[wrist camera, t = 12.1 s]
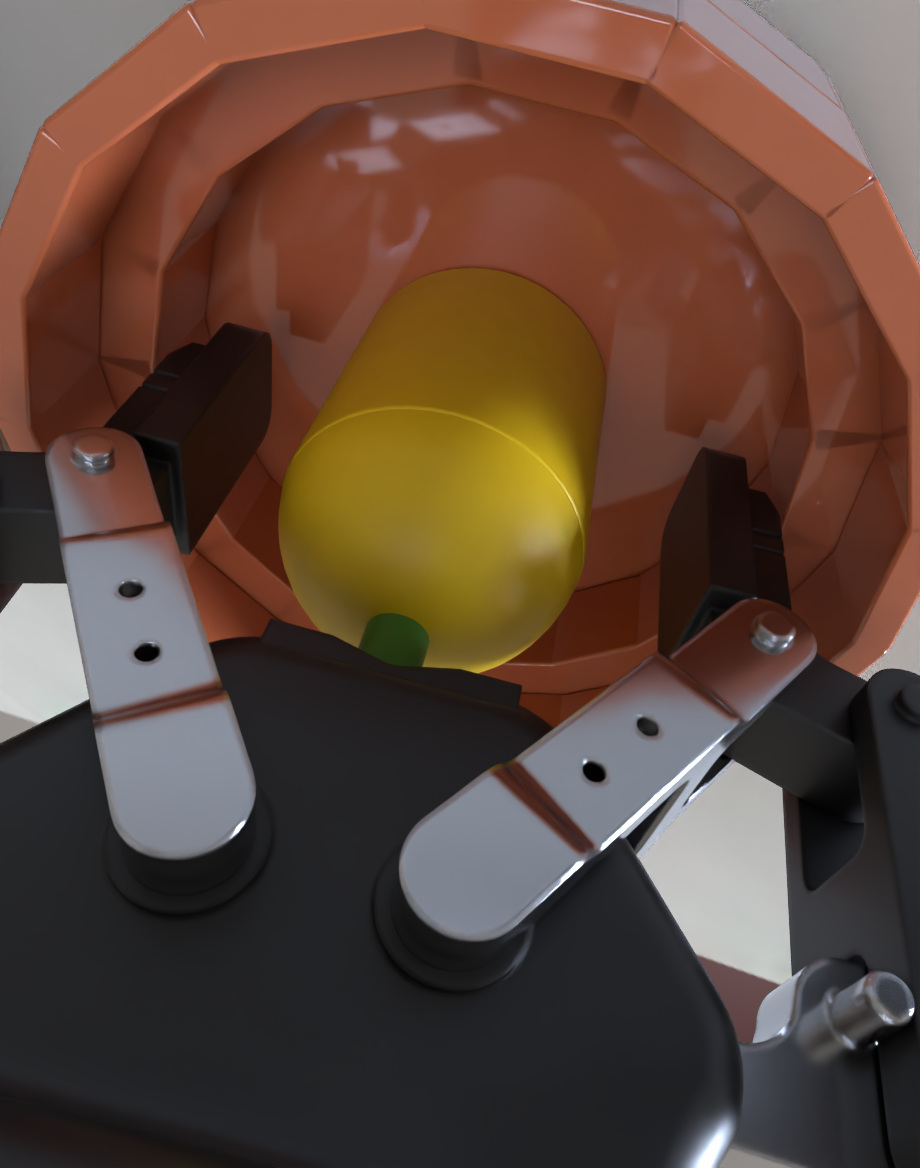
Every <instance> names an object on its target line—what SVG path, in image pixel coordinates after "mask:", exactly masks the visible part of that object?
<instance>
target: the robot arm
mask: <svg viewBox="0 0 920 1168" xmlns="http://www.w3.org/2000/svg"><path fill="white" fill-rule="evenodd" d="M271 411H272V340H271V336H270V334H269V333H268V332H264V331H260V330H257V329H253V328H249V327H245V326H241V325H237V324H233V323H230V322H226V323H225V324H224V325H223V326H222V327H221V328H220V329H219V330H218V331H217V333H216V334H215V335H214V336H213V337H212V339H211V340H210V341H209V342H208V343H207V344H206V345H202V344H198V343H194V342H192V343H190V344H188V345H186V346H184V347H182V348H180V349H177V350H175V351H173V352H171V353H169V354H168V355H167V356H166V357H165V358H164V359H163V360H162V362H161V363H160V364H159V365H158V366H157V367H156V368H155V369H154V373H151V374H150V375H149V376H148V377H147V378H146V379H145V380H144V382H143V383H142V387H140V386H139V387H138V388H137V389H136V390H135V392H134V393H133V394H132V395H131V396H130V397H129V398H128V399H127V401H126V402H125V403H124V404H123V405H122V406H121V407H120V408H119V409H118V411H117V412H116V413H115V414H114V415H113V416H112V417H111V418H110V419H109V421H108V422H107V423H106V424H105V425H104V426H103V427H87V428H80V429H76V430H73V431H70V432H67V433H65V434H63V435H61V436H59V437H58V438H56V439H55V440H54V441H53V442H52V443H51V444H50V445H49V446H48V448H47V450H46V452H15V451H0V613H1V612H2V610H3V609H4V608H5V606H6V605H7V604H8V602H9V601H10V600H11V598H12V597H13V596H14V594H15V593H16V592H17V590H18V589H19V588H20V586H21V585H22V584H23V583H67V586H68V591H69V596H70V601H71V606H72V611H73V617H74V622H75V627H76V632H77V637H78V642H79V648H80V653H81V658H82V663H83V668H84V673H85V679H86V684H87V689H88V694H89V699H88V700H86V701H84V702H82V703H80V704H78V705H76V706H74V707H72V708H70V709H68V710H66V711H64V712H62V713H60V714H58V715H56V716H54V717H52V718H50V719H48V720H46V721H44V722H42V723H40V724H38V725H36V726H34V727H32V728H30V729H28V730H26V731H24V732H23V733H20V734H18V735H16V736H14V737H12V738H10V739H8V740H6V741H4V742H2V743H0V1168H920V676H919V675H917V674H915V673H912V672H909V671H905V670H901V669H885V670H881V671H879V672H877V673H875V674H874V675H873V676H872V677H871V678H870V679H869V680H868V682H867V681H865V680H863V679H861V678H860V677H858V676H856V675H854V674H852V673H850V672H848V671H846V670H844V669H842V668H840V667H838V666H836V665H835V664H833V663H831V662H829V661H828V660H826V659H825V658H823V657H822V656H820V655H819V654H818V653H817V644H816V640H815V637H814V635H813V633H812V631H811V629H810V628H809V627H808V625H807V624H806V623H805V622H804V621H803V620H802V619H801V618H800V617H799V616H798V615H797V614H795V613H794V612H793V611H792V607H791V599H790V591H789V584H788V576H787V568H786V560H785V556H783V555H784V544H783V539H781V538H782V528H781V520H780V514H779V512H778V511H777V509H776V508H775V506H774V504H773V503H772V501H771V500H770V498H769V497H768V495H767V494H766V492H762V491H758V490H754V489H750V488H749V487H748V475H747V464H746V459H745V458H744V457H741V456H737V455H734V454H730V453H726V452H722V451H718V450H714V449H711V448H707V447H703V448H701V449H700V451H699V452H698V454H697V456H696V458H695V460H694V462H693V464H692V466H691V468H690V470H689V472H688V475H687V477H686V479H685V481H684V483H683V485H682V487H681V489H680V492H679V494H678V496H677V498H676V500H675V502H674V504H673V506H672V509H671V511H670V513H669V516H668V518H667V521H666V524H665V528H664V531H663V536H662V542H661V561H660V591H659V620H658V650H657V652H655V653H653V654H651V655H650V656H649V657H647V658H646V659H645V660H643V661H642V662H641V663H639V664H638V665H637V666H635V667H634V668H633V669H631V670H630V671H629V672H627V673H626V674H625V675H624V676H622V677H621V678H620V679H618V680H617V681H616V682H614V683H613V684H612V685H610V686H609V687H608V688H607V689H605V690H604V691H603V692H601V693H600V694H599V695H597V696H596V697H595V698H593V699H592V700H591V701H589V702H588V703H587V704H586V705H584V706H583V707H582V708H580V709H579V710H578V711H576V712H575V713H574V714H572V715H571V716H570V717H568V718H567V719H566V720H565V721H563V722H562V723H561V724H559V725H558V726H557V727H555V728H553V727H552V726H551V725H549V724H548V723H547V722H546V721H545V720H543V719H542V718H541V717H539V716H538V715H536V714H535V713H533V712H532V711H530V710H528V709H527V708H525V707H523V706H521V705H519V702H520V696H521V691H522V685H519V684H515V683H512V682H508V681H504V680H500V679H497V678H493V677H489V676H485V675H482V674H478V673H474V672H470V671H467V670H463V669H454V668H435V667H415V666H398V665H392V664H389V663H386V662H384V661H382V660H380V659H378V658H376V657H374V656H373V655H371V654H369V653H367V652H365V651H363V650H361V649H359V648H357V647H355V646H353V645H351V644H349V643H347V642H345V641H343V640H341V639H339V638H337V637H335V636H333V635H331V634H327V633H323V632H320V631H316V630H312V629H308V628H305V627H301V626H297V625H293V624H290V623H286V622H282V621H278V620H274V619H271V618H270V620H269V622H268V624H267V626H266V628H265V630H264V632H263V634H262V636H261V637H259V636H249V637H234V638H228V639H221V640H217V641H213V642H209V643H208V639H207V636H206V633H205V630H204V627H203V624H202V620H201V617H200V614H199V611H198V608H197V605H196V601H195V598H194V595H193V592H192V589H191V585H190V582H189V579H188V576H187V573H186V570H185V566H184V563H183V560H182V557H181V554H180V553H182V554H186V555H190V554H191V552H192V551H193V549H194V548H195V546H196V544H197V543H198V541H199V540H200V538H201V537H202V535H203V533H204V532H205V530H206V529H207V527H208V526H209V524H210V522H211V521H212V519H213V518H214V516H215V515H216V513H217V512H218V510H219V508H220V507H221V505H222V504H223V502H224V501H225V499H226V497H227V496H228V494H229V493H230V491H231V490H232V488H233V487H234V485H235V483H236V482H237V480H238V479H239V477H240V476H241V474H242V472H243V471H244V469H245V468H246V466H247V465H248V463H249V461H250V460H251V458H252V457H253V455H254V454H255V452H256V451H257V449H258V447H259V446H260V444H261V443H262V441H263V439H264V437H265V435H266V433H267V430H268V427H269V423H270V418H271ZM734 761H736V762H738V763H740V764H741V765H743V766H745V767H747V768H748V769H750V770H752V771H754V772H755V773H757V774H759V775H761V776H762V777H764V778H766V779H768V780H769V781H771V782H773V783H775V784H776V785H778V786H780V787H782V788H783V809H784V829H785V849H786V868H787V888H788V908H789V928H790V948H791V967H792V977H791V978H790V979H788V980H787V981H786V982H784V983H783V984H782V985H780V986H779V987H778V988H776V989H775V990H774V991H772V992H771V993H770V994H769V995H768V996H767V997H766V998H765V999H764V1000H763V1002H762V1004H761V1006H760V1009H759V1012H758V1015H757V1023H756V1031H755V1035H754V1039H753V1042H752V1043H743V1042H739V1041H738V1038H737V1035H736V1031H735V1028H734V1025H733V1022H732V1019H731V1017H730V1015H729V1012H728V1010H727V1008H726V1006H725V1004H724V1002H723V1000H722V998H721V996H720V994H719V993H718V991H717V989H716V987H715V986H714V984H713V982H712V981H711V979H710V977H709V976H708V974H707V972H706V971H705V969H704V967H703V966H702V964H701V962H700V961H699V959H698V957H697V956H696V954H695V952H694V951H693V949H692V947H691V946H690V944H689V942H688V941H687V939H686V937H685V936H684V934H683V932H682V931H681V929H680V927H679V925H678V924H677V922H676V920H675V919H674V917H673V915H672V914H671V912H670V910H669V909H668V907H667V905H666V904H665V902H664V900H663V899H662V897H661V895H660V894H659V892H658V890H657V889H656V887H655V885H654V884H653V882H652V880H651V879H650V877H649V875H648V874H647V872H646V870H645V869H644V867H643V865H642V864H641V862H640V860H639V859H640V858H641V857H642V855H643V854H644V853H645V852H646V851H647V850H648V849H649V848H650V847H651V846H652V845H653V843H654V842H655V841H656V840H657V839H658V838H659V837H660V835H661V834H662V833H663V832H664V831H665V830H666V829H667V827H668V826H669V825H670V824H671V823H672V822H673V821H674V820H675V819H676V818H677V817H678V816H679V815H680V814H681V813H682V812H683V811H684V810H685V809H686V808H687V807H688V806H689V805H690V804H691V803H692V802H693V801H694V800H695V799H696V798H697V797H699V796H700V795H701V794H702V793H703V792H704V791H705V790H706V789H707V788H708V787H709V786H710V785H711V784H712V783H713V782H714V781H715V780H716V779H717V778H718V777H719V776H720V775H721V774H722V773H723V772H724V771H725V770H726V769H727V768H728V767H729V766H730V765H731V764H732V763H733V762H734Z"/></svg>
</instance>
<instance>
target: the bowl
mask: <svg viewBox="0 0 920 1168" xmlns="http://www.w3.org/2000/svg"><path fill="white" fill-rule="evenodd" d="M459 268H484V269H492V270H498V271H503V272H507V273H510V274H513V275H516V276H519V277H522V278H525V279H527V280H529V281H531V282H533V283H535V284H537V285H539V286H541V287H543V288H544V289H546V290H547V291H549V292H550V293H552V294H553V295H555V296H556V297H557V298H558V299H560V300H561V301H562V302H563V303H564V304H566V305H567V306H568V307H569V308H570V309H571V310H572V311H573V312H574V314H575V315H576V316H577V317H578V318H579V319H580V320H581V322H582V323H583V324H584V326H585V327H586V329H587V330H588V332H589V333H590V335H591V337H592V339H593V341H594V343H595V345H596V347H597V349H598V352H599V354H600V357H601V360H602V363H603V368H604V374H605V380H606V398H605V406H604V414H603V422H602V430H601V438H600V446H599V454H598V461H597V469H596V477H595V485H594V493H593V501H592V508H591V516H590V524H589V532H588V540H587V548H586V555H585V563H584V567H583V571H582V574H581V577H580V580H579V582H578V584H577V586H576V588H575V590H574V592H573V593H572V595H571V597H570V599H569V601H568V603H567V605H566V606H565V607H564V609H563V610H562V612H561V613H560V615H559V616H558V617H557V619H556V620H555V621H554V623H553V624H552V625H551V627H550V628H549V629H548V630H547V631H546V632H545V633H544V634H543V635H542V636H540V637H539V638H538V639H537V640H536V641H535V642H534V643H533V644H532V645H531V646H530V647H528V648H527V649H526V650H524V651H523V652H521V653H520V654H518V655H517V656H515V657H514V658H512V659H510V660H509V661H507V662H505V663H503V664H501V665H499V666H497V667H495V668H492V669H489V670H486V671H483V672H481V673H478V674H482V675H485V676H489V677H493V678H497V679H500V680H504V681H508V682H512V683H515V684H519V685H522V691H521V696H520V702H519V705H521V706H523V707H525V708H527V709H528V710H530V711H532V712H533V713H535V714H536V715H538V716H539V717H541V718H542V719H543V720H545V721H546V722H547V723H548V724H549V725H551V726H552V727H553V728H555V727H557V726H558V725H559V724H561V723H562V722H563V721H565V720H566V719H567V718H568V717H570V716H571V715H572V714H574V713H575V712H576V711H578V710H579V709H580V708H582V707H583V706H584V705H586V704H587V703H588V702H589V701H591V700H592V699H593V698H595V697H596V696H597V695H599V694H600V693H601V692H603V691H604V690H605V689H607V688H608V687H609V686H610V685H612V684H613V683H614V682H616V681H617V680H618V679H620V678H621V677H622V676H624V675H625V674H626V673H627V672H629V671H630V670H631V669H633V668H634V667H635V666H637V665H638V664H639V663H641V662H642V661H643V660H645V659H646V658H647V657H649V656H650V655H651V654H653V653H655V652H657V650H658V620H659V591H660V561H661V542H662V536H663V531H664V528H665V524H666V521H667V518H668V516H669V513H670V511H671V509H672V506H673V504H674V502H675V500H676V498H677V496H678V494H679V492H680V489H681V487H682V485H683V483H684V481H685V479H686V477H687V475H688V472H689V470H690V468H691V466H692V464H693V462H694V460H695V458H696V456H697V454H698V452H699V451H700V449H701V448H703V447H707V448H711V449H714V450H718V451H722V452H726V453H730V454H734V455H737V456H741V457H744V458H745V459H746V464H747V475H748V487H749V488H750V489H754V490H758V491H762V492H766V494H767V495H768V497H769V498H770V500H771V501H772V503H773V504H774V506H775V508H776V509H777V511H778V512H779V514H780V520H781V528H782V538H781V539H783V544H784V555H783V556H785V560H786V568H787V576H788V584H789V591H790V599H791V607H792V611H793V612H794V613H795V614H797V615H798V616H799V617H800V618H801V619H802V620H803V621H804V622H805V623H806V624H807V625H808V627H809V628H810V629H811V631H812V633H813V635H814V637H815V640H816V644H817V653H818V654H819V655H820V656H822V657H823V658H825V659H826V660H828V661H829V662H831V663H833V664H835V665H836V666H838V667H840V668H842V669H844V670H846V671H848V672H850V673H852V674H854V675H856V676H859V675H860V674H861V673H863V672H864V671H865V670H866V669H868V668H869V667H870V666H871V665H873V664H874V663H875V662H876V661H878V660H879V659H880V658H881V657H882V656H884V655H885V654H886V652H887V650H889V649H890V648H891V646H892V644H893V642H894V641H895V639H896V637H897V635H898V633H899V632H900V630H901V628H902V626H903V624H904V622H905V621H906V619H907V617H908V615H909V613H910V612H911V610H912V608H913V606H914V604H915V603H916V601H917V599H918V597H919V595H920V266H919V264H918V262H917V260H916V257H915V255H914V253H913V251H912V249H911V247H910V245H909V243H908V241H907V239H906V236H905V234H904V232H903V230H902V228H901V226H900V224H899V222H898V220H897V217H896V215H895V213H894V211H893V209H892V207H891V205H890V203H889V201H888V198H887V196H886V194H885V192H884V190H883V188H882V186H881V184H880V182H879V180H878V177H877V175H876V173H875V171H874V169H873V167H872V165H871V163H870V161H869V159H868V157H867V155H866V153H865V151H864V148H863V146H862V144H861V142H860V140H859V138H858V136H857V134H856V132H855V130H854V128H853V126H852V124H851V122H850V119H849V117H848V115H847V113H846V111H845V109H844V107H843V105H842V103H841V101H840V99H839V97H838V95H837V93H836V91H835V88H834V86H833V84H832V82H831V80H830V78H829V76H828V75H827V74H826V73H824V72H823V70H822V68H821V66H820V65H819V64H818V63H817V62H816V61H814V60H813V59H812V58H811V57H810V56H808V55H807V54H806V53H805V52H803V51H802V50H801V49H800V48H799V47H797V46H796V45H795V44H794V43H792V42H791V41H790V40H789V39H788V38H786V37H785V36H784V35H783V34H782V33H780V32H779V31H778V30H777V29H775V28H774V27H773V26H772V25H771V24H769V23H768V22H767V21H766V20H765V19H763V18H762V17H761V16H760V15H758V14H757V13H756V12H755V11H754V10H752V9H751V8H750V7H749V6H748V5H746V4H745V3H744V2H743V1H741V0H192V1H190V2H187V3H185V4H184V5H183V6H181V7H180V8H179V9H178V10H177V11H175V12H174V13H173V14H172V15H171V16H169V17H168V18H167V19H166V20H165V21H163V22H162V23H161V24H160V25H159V26H157V27H156V28H155V29H154V30H153V31H151V32H150V33H149V34H148V35H146V36H145V37H144V38H143V39H142V40H140V41H139V42H138V43H137V44H136V45H134V46H133V47H132V48H131V49H130V50H128V51H127V52H126V53H125V54H124V55H122V56H121V57H120V58H119V59H118V60H116V61H115V62H114V63H113V64H112V65H110V66H109V67H108V68H107V69H106V70H104V71H103V72H102V73H101V74H99V75H98V76H97V77H96V78H95V79H93V80H92V81H91V82H90V83H89V84H87V85H86V86H85V87H84V88H83V89H81V90H80V91H79V92H78V93H77V94H75V95H74V96H73V97H72V98H71V99H69V100H68V101H67V102H66V103H65V104H63V105H62V106H61V107H60V108H59V109H57V110H56V111H55V112H54V113H52V114H51V115H50V116H49V117H48V118H46V119H45V121H44V123H43V126H41V127H40V128H39V130H38V132H37V135H36V138H35V140H34V143H33V145H32V148H31V151H30V153H29V156H28V158H27V161H26V164H25V166H24V169H23V171H22V174H21V177H20V179H19V182H18V185H17V187H16V190H15V192H14V195H13V198H12V200H11V203H10V205H9V208H8V211H7V213H6V216H5V219H4V221H3V224H2V226H1V229H0V429H1V431H2V433H3V435H4V438H5V440H6V442H7V444H8V446H9V448H10V450H11V451H15V452H46V450H47V448H48V446H49V445H50V444H51V443H52V442H53V441H54V440H55V439H56V438H58V437H59V436H61V435H63V434H65V433H67V432H70V431H73V430H76V429H80V428H87V427H103V426H104V425H105V424H106V423H107V422H108V421H109V419H110V418H111V417H112V416H113V415H114V414H115V413H116V412H117V411H118V409H119V408H120V407H121V406H122V405H123V404H124V403H125V402H126V401H127V399H128V398H129V397H130V396H131V395H132V394H133V393H134V392H135V390H136V389H137V388H138V387H139V386H140V387H142V383H143V382H144V380H145V379H146V378H147V377H148V376H149V375H150V374H151V373H154V369H155V368H156V367H157V366H158V365H159V364H160V363H161V362H162V360H163V359H164V358H165V357H166V356H167V355H168V354H169V353H171V352H173V351H175V350H177V349H180V348H182V347H184V346H186V345H188V344H190V343H192V342H194V343H198V344H202V345H206V344H207V343H208V342H209V341H210V340H211V339H212V337H213V336H214V335H215V334H216V333H217V331H218V330H219V329H220V328H221V327H222V326H223V325H224V324H225V323H226V322H230V323H233V324H237V325H241V326H245V327H249V328H253V329H257V330H260V331H264V332H268V333H269V334H270V336H271V340H272V411H271V418H270V423H269V427H268V430H267V433H266V435H265V437H264V439H263V441H262V443H261V444H260V446H259V447H258V449H257V451H256V452H255V454H254V455H253V457H252V458H251V460H250V461H249V463H248V465H247V466H246V468H245V469H244V471H243V472H242V474H241V476H240V477H239V479H238V480H237V482H236V483H235V485H234V487H233V488H232V490H231V491H230V493H229V494H228V496H227V497H226V499H225V501H224V502H223V504H222V505H221V507H220V508H219V510H218V512H217V513H216V515H215V516H214V518H213V519H212V521H211V522H210V524H209V526H208V527H207V529H206V530H205V532H204V533H203V535H202V537H201V538H200V540H199V541H198V543H197V544H196V546H195V548H194V549H193V551H192V552H191V554H190V555H186V554H182V553H180V554H181V557H182V560H183V563H184V566H185V570H186V573H187V576H188V579H189V582H190V585H191V589H192V592H193V595H194V598H195V601H196V605H197V608H198V611H199V614H200V617H201V620H202V624H203V627H204V630H205V633H206V636H207V639H208V643H209V642H213V641H217V640H221V639H228V638H234V637H249V636H259V637H261V636H262V634H263V632H264V630H265V628H266V626H267V624H268V622H269V620H270V618H271V619H274V620H278V621H282V622H286V623H290V624H293V625H297V626H301V627H305V628H308V629H312V630H316V631H320V630H319V629H318V628H317V627H316V626H315V625H314V623H313V622H312V620H311V619H310V618H309V616H308V615H307V614H306V612H305V611H304V609H303V608H302V606H301V605H300V603H299V601H298V599H297V598H296V596H295V594H294V592H293V589H292V587H291V584H290V582H289V579H288V577H287V574H286V571H285V569H284V564H283V560H282V556H281V550H280V544H279V532H278V517H279V505H280V498H281V492H282V484H283V480H284V477H285V473H286V470H287V468H288V466H289V464H290V462H291V460H292V458H293V456H294V454H295V453H296V451H297V449H298V447H299V446H300V444H301V442H302V440H303V439H304V437H305V435H306V433H307V432H308V430H309V428H310V427H311V425H312V423H313V421H314V420H315V418H316V416H317V414H318V413H319V411H320V409H321V408H322V406H323V404H324V402H325V401H326V399H327V397H328V395H329V394H330V392H331V390H332V388H333V387H334V385H335V383H336V382H337V380H338V378H339V376H340V375H341V373H342V371H343V369H344V368H345V366H346V364H347V362H348V361H349V359H350V357H351V356H352V354H353V352H354V350H355V349H356V347H357V345H358V343H359V342H360V340H361V338H362V337H363V335H364V333H365V331H366V330H367V328H368V326H369V324H370V323H371V321H372V319H373V318H374V316H375V315H376V314H377V312H378V311H379V309H380V308H381V307H382V305H383V304H384V303H385V302H386V301H387V300H388V299H389V298H390V297H391V296H392V295H394V294H395V293H396V292H398V291H399V290H400V289H402V288H403V287H404V286H406V285H408V284H410V283H412V282H414V281H415V280H417V279H419V278H422V277H424V276H427V275H430V274H433V273H436V272H440V271H445V270H450V269H459ZM320 632H321V631H320Z"/></svg>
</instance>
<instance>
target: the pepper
mask: <svg viewBox="0 0 920 1168" xmlns="http://www.w3.org/2000/svg"><path fill="white" fill-rule="evenodd" d="M605 398H606V380H605V374H604V368H603V363H602V360H601V357H600V354H599V352H598V349H597V347H596V345H595V343H594V341H593V339H592V337H591V335H590V333H589V332H588V330H587V329H586V327H585V326H584V324H583V323H582V322H581V320H580V319H579V318H578V317H577V316H576V315H575V314H574V312H573V311H572V310H571V309H570V308H569V307H568V306H567V305H566V304H564V303H563V302H562V301H561V300H560V299H558V298H557V297H556V296H555V295H553V294H552V293H550V292H549V291H547V290H546V289H544V288H543V287H541V286H539V285H537V284H535V283H533V282H531V281H529V280H527V279H525V278H522V277H519V276H516V275H513V274H510V273H507V272H503V271H498V270H492V269H484V268H459V269H450V270H445V271H440V272H436V273H433V274H430V275H427V276H424V277H422V278H419V279H417V280H415V281H414V282H412V283H410V284H408V285H406V286H404V287H403V288H402V289H400V290H399V291H398V292H396V293H395V294H394V295H392V296H391V297H390V298H389V299H388V300H387V301H386V302H385V303H384V304H383V305H382V307H381V308H380V309H379V311H378V312H377V314H376V315H375V316H374V318H373V319H372V321H371V323H370V324H369V326H368V328H367V330H366V331H365V333H364V335H363V337H362V338H361V340H360V342H359V343H358V345H357V347H356V349H355V350H354V352H353V354H352V356H351V357H350V359H349V361H348V362H347V364H346V366H345V368H344V369H343V371H342V373H341V375H340V376H339V378H338V380H337V382H336V383H335V385H334V387H333V388H332V390H331V392H330V394H329V395H328V397H327V399H326V401H325V402H324V404H323V406H322V408H321V409H320V411H319V413H318V414H317V416H316V418H315V420H314V421H313V423H312V425H311V427H310V428H309V430H308V432H307V433H306V435H305V437H304V439H303V440H302V442H301V444H300V446H299V447H298V449H297V451H296V453H295V454H294V456H293V458H292V460H291V462H290V464H289V466H288V468H287V470H286V473H285V477H284V480H283V484H282V492H281V498H280V505H279V517H278V532H279V544H280V550H281V556H282V560H283V564H284V569H285V571H286V574H287V577H288V579H289V582H290V584H291V587H292V589H293V592H294V594H295V596H296V598H297V599H298V601H299V603H300V605H301V606H302V608H303V609H304V611H305V612H306V614H307V615H308V616H309V618H310V619H311V620H312V622H313V623H314V625H315V626H316V627H317V628H318V629H319V630H320V631H321V632H323V633H327V634H331V635H333V636H335V637H337V638H339V639H341V640H343V641H345V642H347V643H349V644H351V645H353V646H355V647H357V648H359V649H361V650H363V651H365V652H367V653H369V654H371V655H373V656H374V657H376V658H378V659H380V660H382V661H384V662H386V663H389V664H392V665H398V666H415V667H435V668H454V669H463V670H467V671H470V672H474V673H481V672H483V671H486V670H489V669H492V668H495V667H497V666H499V665H501V664H503V663H505V662H507V661H509V660H510V659H512V658H514V657H515V656H517V655H518V654H520V653H521V652H523V651H524V650H526V649H527V648H528V647H530V646H531V645H532V644H533V643H534V642H535V641H536V640H537V639H538V638H539V637H540V636H542V635H543V634H544V633H545V632H546V631H547V630H548V629H549V628H550V627H551V625H552V624H553V623H554V621H555V620H556V619H557V617H558V616H559V615H560V613H561V612H562V610H563V609H564V607H565V606H566V605H567V603H568V601H569V599H570V597H571V595H572V593H573V592H574V590H575V588H576V586H577V584H578V582H579V580H580V577H581V574H582V571H583V567H584V563H585V555H586V548H587V540H588V532H589V524H590V516H591V508H592V501H593V493H594V485H595V477H596V469H597V461H598V454H599V446H600V438H601V430H602V422H603V414H604V406H605Z"/></svg>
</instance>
